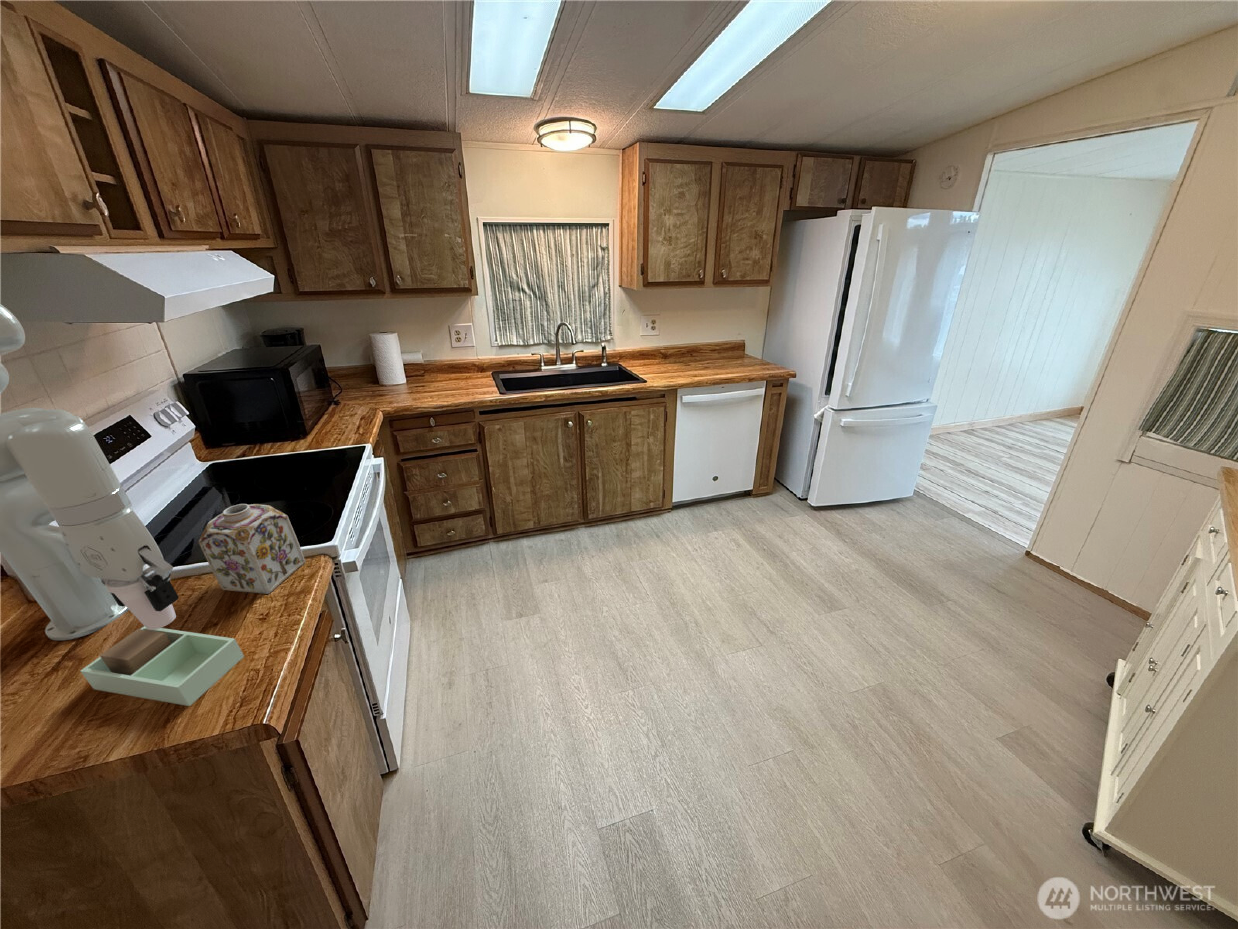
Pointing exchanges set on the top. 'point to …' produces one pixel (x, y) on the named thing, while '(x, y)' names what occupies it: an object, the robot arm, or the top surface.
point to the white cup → (141, 602)
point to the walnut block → (135, 651)
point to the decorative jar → (251, 548)
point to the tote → (172, 669)
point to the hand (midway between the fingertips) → (149, 601)
